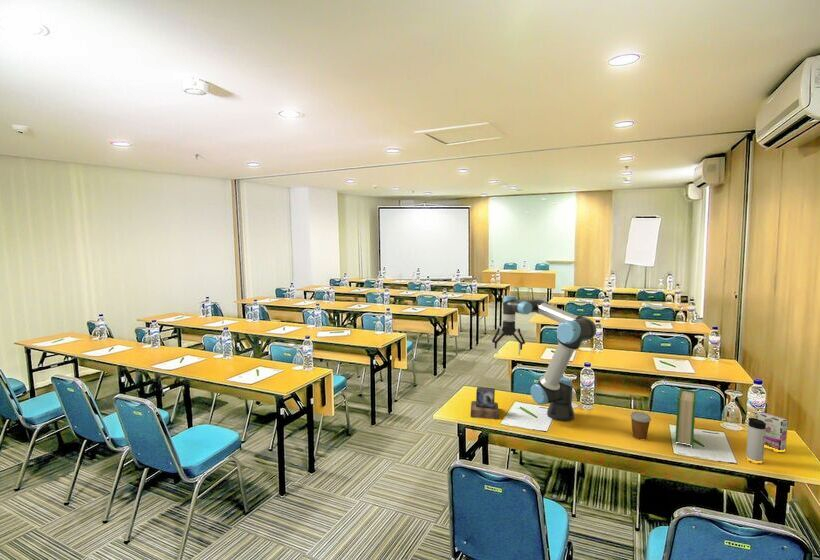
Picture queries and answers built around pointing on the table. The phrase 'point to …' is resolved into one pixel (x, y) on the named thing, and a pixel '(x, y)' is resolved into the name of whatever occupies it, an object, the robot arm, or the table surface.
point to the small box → (485, 397)
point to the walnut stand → (484, 411)
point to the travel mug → (756, 439)
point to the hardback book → (685, 416)
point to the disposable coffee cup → (640, 424)
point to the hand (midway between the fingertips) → (508, 354)
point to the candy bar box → (774, 430)
